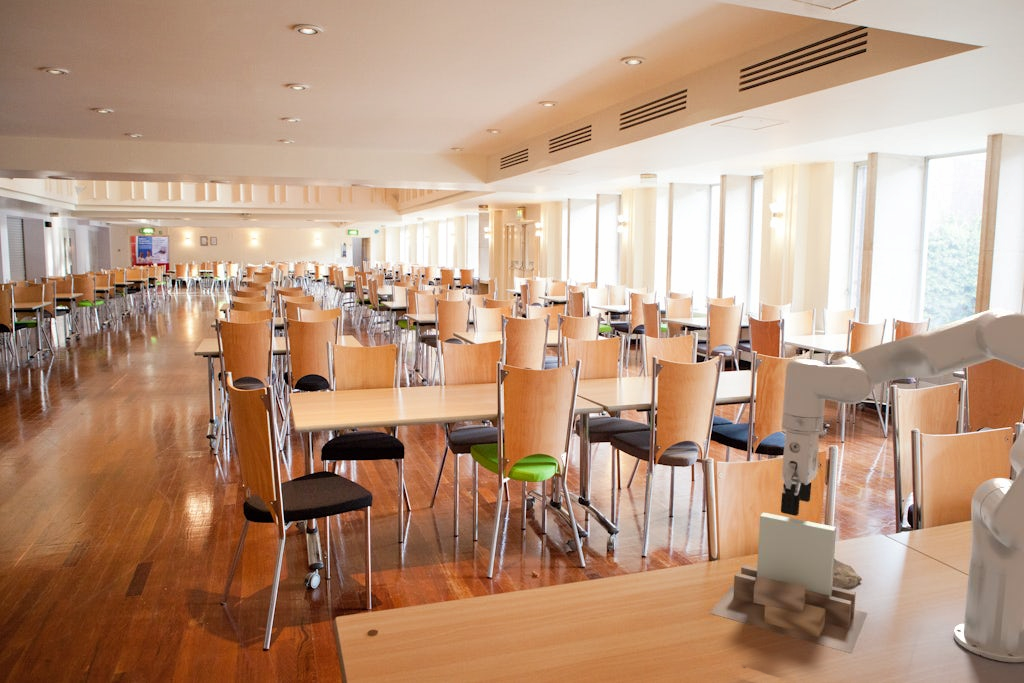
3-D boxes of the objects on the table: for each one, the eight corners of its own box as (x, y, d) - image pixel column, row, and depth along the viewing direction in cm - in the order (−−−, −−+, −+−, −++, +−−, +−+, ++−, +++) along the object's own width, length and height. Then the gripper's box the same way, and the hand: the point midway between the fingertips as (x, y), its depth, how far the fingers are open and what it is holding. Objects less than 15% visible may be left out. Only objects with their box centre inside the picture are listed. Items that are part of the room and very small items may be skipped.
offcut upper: (804, 602, 145) (805, 585, 145) (802, 612, 141) (803, 595, 141) (756, 593, 149) (757, 576, 149) (753, 602, 145) (754, 585, 145)
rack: (867, 620, 149) (869, 589, 148) (850, 661, 134) (853, 626, 133) (736, 586, 163) (738, 558, 162) (709, 620, 148) (710, 589, 148)
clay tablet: (795, 606, 155) (870, 590, 162) (796, 583, 155) (871, 568, 161) (752, 579, 169) (823, 566, 175) (752, 558, 168) (824, 546, 175)
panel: (830, 614, 148) (836, 526, 146) (827, 619, 146) (833, 530, 144) (758, 595, 156) (763, 512, 154) (755, 600, 154) (759, 515, 152)
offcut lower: (824, 626, 143) (825, 608, 143) (818, 637, 139) (819, 619, 139) (771, 611, 149) (772, 595, 149) (764, 622, 145) (765, 605, 144)
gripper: (812, 434, 137) (805, 524, 139) (831, 417, 151) (824, 499, 154) (770, 428, 141) (764, 515, 143) (793, 412, 155) (786, 491, 158)
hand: (795, 506), depth 149 cm, fingers open, 9 cm apart
